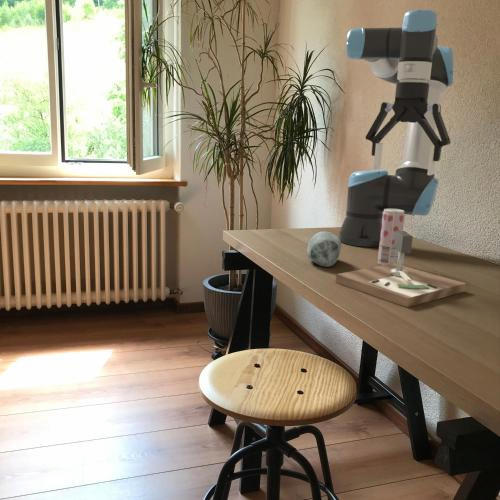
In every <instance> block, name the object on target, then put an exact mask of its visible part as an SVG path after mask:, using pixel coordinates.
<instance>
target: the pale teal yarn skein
mask: <svg viewBox="0 0 500 500" xmlns="http://www.w3.org/2000/svg"><path fill="white" fill-rule="evenodd" d="M341 249H342V242H341V241H340V239H339V238H338V235H336V234H334V233H333V232H330V231H319V232H317V233H315V234H313V236H312V237H311V238H310V240H309V242H308V244H307V248H306V254H307V256H308V257H309V259H310V260H311V261H312V262H313V263H315V264H317V265H318V266H321V267H324V268H327V267H328V268H329V267H332V266H334V264H335V263H336V262H337V261H338V259H339V258H340V253H341Z"/></svg>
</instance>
